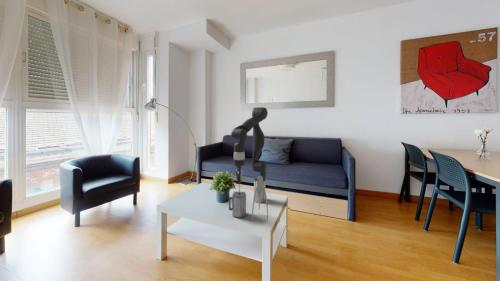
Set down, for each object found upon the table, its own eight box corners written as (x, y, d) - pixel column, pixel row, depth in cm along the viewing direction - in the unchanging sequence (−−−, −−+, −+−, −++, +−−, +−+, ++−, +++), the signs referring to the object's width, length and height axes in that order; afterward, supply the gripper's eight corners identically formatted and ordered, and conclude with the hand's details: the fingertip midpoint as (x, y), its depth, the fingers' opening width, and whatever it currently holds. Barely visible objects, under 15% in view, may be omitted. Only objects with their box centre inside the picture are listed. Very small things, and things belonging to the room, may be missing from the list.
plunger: (235, 199, 145) (234, 175, 143) (244, 199, 145) (244, 175, 142) (233, 203, 138) (233, 178, 136) (243, 203, 138) (243, 178, 136)
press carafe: (245, 218, 138) (245, 196, 136) (228, 217, 138) (227, 196, 136) (246, 211, 147) (246, 191, 145) (230, 211, 148) (230, 191, 146)
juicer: (266, 214, 144) (266, 172, 140) (267, 220, 135) (268, 176, 131) (251, 214, 143) (251, 172, 140) (252, 220, 134) (252, 176, 131)
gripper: (234, 156, 145) (235, 179, 147) (232, 160, 131) (232, 186, 133) (245, 156, 144) (245, 179, 147) (243, 160, 130) (243, 186, 132)
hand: (239, 182), depth 140 cm, fingers closed on plunger, 3 cm apart
